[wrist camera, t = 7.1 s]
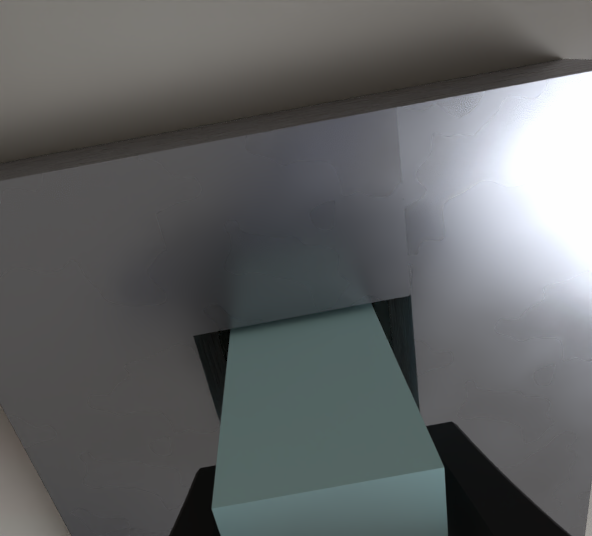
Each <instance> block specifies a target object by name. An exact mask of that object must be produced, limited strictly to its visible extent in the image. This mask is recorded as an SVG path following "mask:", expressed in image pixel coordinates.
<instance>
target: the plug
mask: <svg viewBox="0 0 592 536" xmlns="http://www.w3.org/2000/svg"><path fill="white" fill-rule="evenodd" d="M212 512H213V515H214V518H215V521H216V524H217V527H218V529H219V532H220V535H221V536H448V526H447V507H446V489H445V470H444V465H443V463H442V461H441V459H440V456H439V454H438V452H437V450H436V448H435V445H434V443H433V441H432V439H431V436H430V434H429V432H428V430H427V427H426V425H425V423H424V421H423V418H422V416H421V414H420V412H419V409H418V407H417V405H416V403H415V400H414V398H413V396H412V394H411V391H410V389H409V387H408V385H407V382H406V380H405V378H404V376H403V374H402V371H401V369H400V367H399V365H398V362H397V360H396V358H395V356H394V353H393V351H392V349H391V347H390V344H389V342H388V340H387V338H386V335H385V333H384V331H383V329H382V326H381V324H380V322H379V320H378V317H377V315H376V313H375V311H374V308H373V306H372V304H371V303H367V304H362V305H357V306H351V307H346V308H340V309H335V310H330V311H324V312H319V313H313V314H308V315H303V316H297V317H292V318H287V319H281V320H276V321H270V322H265V323H260V324H254V325H249V326H243V327H238V328H233V329H231V330H230V339H229V349H228V358H227V368H226V377H225V387H224V396H223V405H222V415H221V424H220V434H219V443H218V453H217V462H216V471H215V481H214V490H213V500H212Z"/></svg>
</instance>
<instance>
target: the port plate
mask: <svg viewBox="0 0 592 536" xmlns="http://www.w3.org/2000/svg"><path fill="white" fill-rule="evenodd" d="M383 300H388V304H389V314H390V324H391V334H392V344H393V353H394V356H395V358H396V360H397V362H398V365H399V367H400V369H401V371H402V374H403V376H404V378H405V380H406V382H407V385H408V387H409V389H410V391H411V394H412V396H413V398H414V400H415V403H416V405H417V407H418V409H419V412H420V414H421V416H422V418H423V421H424V423H425V425H426V426H429V425H435V424H440V423H446V422H451V421H452V422H454V423H455V424H457V425H458V426H459V428H460V429H461V430H462V431H463V432H464V433H465V434H466V435H467V436H468V437H469V439H470V440H471V441H472V442H473V443H474V444H475V445H476V446H477V447H478V448H479V449H480V450H481V451H482V452H483V453H484V454H485V455H486V456H487V458H488V459H489V460H490V461H491V462H492V463H493V464H494V465H495V466H496V467H497V468H498V469H499V470H500V471H501V472H502V473H503V474H504V475H505V476H507V477H508V478H509V479H510V480H511V481H512V482H513V483H514V484H515V485H516V486H517V487H518V488H519V489H520V490H521V491H522V492H523V493H524V494H526V495H527V496H528V497H529V498H530V499H531V500H532V501H533V502H534V503H535V504H536V505H537V506H538V507H540V508H541V509H542V510H543V511H544V512H545V513H546V514H547V515H548V516H550V517H551V518H552V519H553V520H554V521H555V522H556V523H557V524H559V525H560V526H561V527H562V528H563V529H564V530H566V531H567V532H568V533H569V534H570V535H571V536H585V530H586V522H587V514H588V506H589V498H590V490H591V482H592V60H586V59H561V60H555V61H550V62H545V63H539V64H534V65H529V66H523V67H518V68H512V69H507V70H502V71H496V72H491V73H485V74H480V75H475V76H469V77H464V78H458V79H453V80H448V81H442V82H437V83H432V84H426V85H421V86H415V87H410V88H405V89H399V90H394V91H388V92H383V93H378V94H372V95H367V96H362V97H356V98H351V99H345V100H340V101H335V102H329V103H324V104H318V105H313V106H308V107H302V108H297V109H292V110H286V111H281V112H275V113H270V114H265V115H259V116H254V117H248V118H243V119H238V120H232V121H227V122H222V123H216V124H211V125H205V126H200V127H195V128H189V129H184V130H178V131H173V132H168V133H162V134H157V135H152V136H146V137H141V138H135V139H130V140H125V141H119V142H114V143H108V144H103V145H98V146H92V147H87V148H82V149H76V150H71V151H65V152H60V153H55V154H49V155H44V156H38V157H33V158H28V159H22V160H17V161H12V162H6V163H1V164H0V404H1V406H2V408H3V410H4V412H5V414H6V415H7V417H8V419H9V421H10V423H11V425H12V426H13V428H14V430H15V432H16V434H17V436H18V438H19V439H20V441H21V443H22V445H23V447H24V449H25V450H26V452H27V454H28V456H29V458H30V460H31V462H32V463H33V465H34V467H35V469H36V471H37V473H38V474H39V476H40V478H41V480H42V482H43V484H44V486H45V487H46V489H47V491H48V493H49V495H50V497H51V498H52V500H53V502H54V504H55V506H56V508H57V510H58V511H59V513H60V515H61V517H62V519H63V521H64V522H65V524H66V526H67V528H68V530H69V532H70V534H71V535H72V536H169V534H170V532H171V530H172V528H173V526H174V523H175V521H176V519H177V517H178V515H179V512H180V510H181V508H182V506H183V503H184V501H185V499H186V496H187V494H188V492H189V489H190V487H191V484H192V482H193V479H194V477H195V474H196V473H197V471H198V470H199V469H200V468H203V467H209V466H214V465H216V462H217V453H218V443H219V434H220V424H221V415H222V405H223V396H224V387H225V377H226V368H227V365H226V361H225V358H224V354H223V351H222V347H221V343H220V340H219V336H218V333H217V331H222V330H227V329H233V328H238V327H243V326H249V325H254V324H260V323H265V322H270V321H276V320H281V319H287V318H292V317H297V316H303V315H308V314H313V313H319V312H324V311H330V310H335V309H340V308H346V307H351V306H357V305H362V304H367V303H373V302H378V301H383Z"/></svg>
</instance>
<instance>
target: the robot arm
mask: <svg viewBox="0 0 592 536" xmlns="http://www.w3.org/2000/svg"><path fill="white" fill-rule="evenodd" d="M426 427H427V430H428V432H429V434H430V436H431V439H432V441H433V443H434V445H435V448H436V450H437V452H438V454H439V456H440V459H441V461H442V463H443V465H444V470H445V489H446V507H447V526H448V536H571V535H570V534H569V533H568V532H567V531H566V530H564V529H563V528H562V527H561V526H560V525H559V524H557V523H556V522H555V521H554V520H553V519H552V518H551V517H550V516H548V515H547V514H546V513H545V512H544V511H543V510H542V509H541V508H540V507H538V506H537V505H536V504H535V503H534V502H533V501H532V500H531V499H530V498H529V497H528V496H527V495H526V494H524V493H523V492H522V491H521V490H520V489H519V488H518V487H517V486H516V485H515V484H514V483H513V482H512V481H511V480H510V479H509V478H508V477H507V476H505V475H504V474H503V473H502V472H501V471H500V470H499V469H498V468H497V467H496V466H495V465H494V464H493V463H492V462H491V461H490V460H489V459H488V458H487V456H486V455H485V454H484V453H483V452H482V451H481V450H480V449H479V448H478V447H477V446H476V445H475V444H474V443H473V442H472V441H471V440H470V439H469V437H468V436H467V435H466V434H465V433H464V432H463V431H462V430H461V429H460V428H459V426H458V425H457V424H455V423H454V422H452V421H451V422H446V423H440V424H435V425H429V426H426ZM215 471H216V465H214V466H209V467H203V468H200V469H199V470H198V471H197V473H196V474H195V477H194V479H193V482H192V484H191V487H190V489H189V492H188V494H187V496H186V499H185V501H184V503H183V506H182V508H181V510H180V512H179V515H178V517H177V519H176V521H175V523H174V526H173V528H172V530H171V532H170V534H169V536H221V535H220V532H219V529H218V527H217V524H216V521H215V518H214V515H213V512H212V500H213V490H214V481H215Z"/></svg>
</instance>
